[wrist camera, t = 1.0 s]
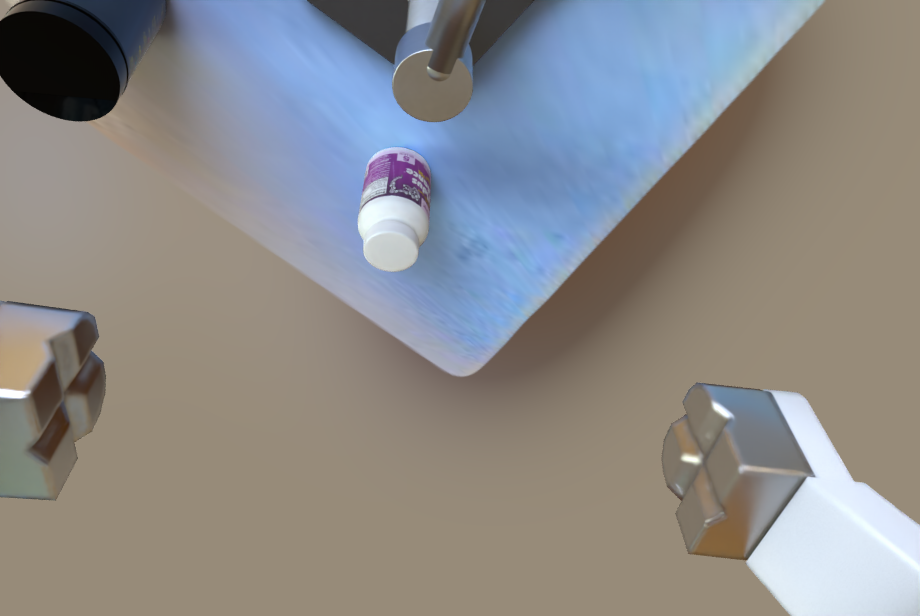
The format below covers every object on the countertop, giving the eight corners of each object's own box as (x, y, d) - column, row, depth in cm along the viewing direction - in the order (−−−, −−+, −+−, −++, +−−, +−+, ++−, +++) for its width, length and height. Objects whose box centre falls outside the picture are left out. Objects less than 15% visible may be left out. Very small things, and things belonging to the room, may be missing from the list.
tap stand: (433, -217, 39) (426, -145, 31) (583, -65, 45) (612, 29, 36) (299, -18, 47) (265, 81, 39) (442, 89, 52) (439, 194, 44)
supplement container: (171, -48, 45) (118, 31, 38) (170, 48, 50) (122, 134, 43) (56, -82, 44) (-21, -6, 37) (66, 20, 49) (-1, 104, 42)
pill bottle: (445, 172, 58) (444, 254, 52) (400, 207, 61) (393, 289, 54) (396, 131, 55) (388, 212, 49) (351, 169, 58) (338, 252, 51)
